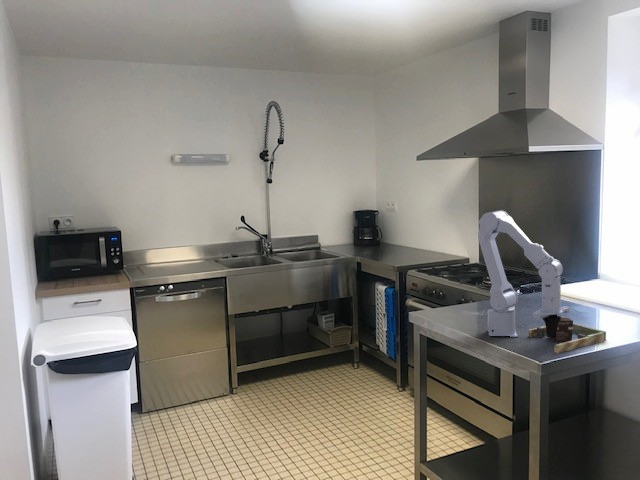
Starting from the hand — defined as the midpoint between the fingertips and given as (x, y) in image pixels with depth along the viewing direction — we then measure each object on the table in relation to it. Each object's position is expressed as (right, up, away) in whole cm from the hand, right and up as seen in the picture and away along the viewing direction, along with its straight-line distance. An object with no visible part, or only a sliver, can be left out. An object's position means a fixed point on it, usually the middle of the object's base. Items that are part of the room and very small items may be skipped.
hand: (551, 336), depth 177 cm
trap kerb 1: (-1, -1, +7) cm, 7 cm away
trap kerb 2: (+9, -2, -2) cm, 9 cm away
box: (+4, -2, +3) cm, 5 cm away
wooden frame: (+4, -2, +2) cm, 4 cm away
